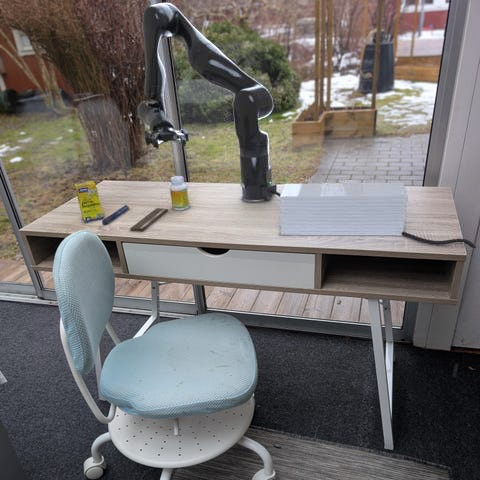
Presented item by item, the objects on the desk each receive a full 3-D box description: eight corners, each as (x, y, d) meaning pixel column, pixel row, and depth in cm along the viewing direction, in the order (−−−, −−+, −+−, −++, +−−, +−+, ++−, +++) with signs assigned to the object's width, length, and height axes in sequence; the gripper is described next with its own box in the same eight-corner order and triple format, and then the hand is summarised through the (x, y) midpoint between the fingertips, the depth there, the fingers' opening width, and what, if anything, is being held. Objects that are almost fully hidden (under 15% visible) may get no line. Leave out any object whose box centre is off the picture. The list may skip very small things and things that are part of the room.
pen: (125, 208, 157) (124, 203, 156) (130, 209, 156) (129, 204, 155) (101, 225, 145) (100, 220, 144) (106, 225, 145) (105, 220, 144)
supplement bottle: (186, 210, 151) (182, 180, 146) (170, 210, 152) (165, 180, 147) (191, 204, 156) (187, 175, 150) (175, 204, 157) (171, 175, 152)
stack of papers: (398, 220, 133) (403, 182, 127) (402, 235, 124) (408, 195, 118) (284, 220, 138) (283, 183, 133) (280, 234, 130) (279, 196, 124)
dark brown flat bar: (156, 210, 153) (156, 207, 153) (168, 210, 152) (167, 208, 152) (130, 230, 140) (130, 228, 140) (142, 231, 139) (142, 228, 138)
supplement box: (85, 223, 148) (76, 188, 142) (82, 217, 153) (73, 183, 147) (104, 218, 150) (96, 184, 144) (100, 213, 155) (92, 180, 149)
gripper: (139, 117, 159) (147, 134, 147) (180, 114, 162) (192, 130, 151) (141, 139, 164) (149, 158, 152) (182, 136, 167) (193, 153, 156)
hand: (170, 144), depth 151 cm, fingers open, 8 cm apart
